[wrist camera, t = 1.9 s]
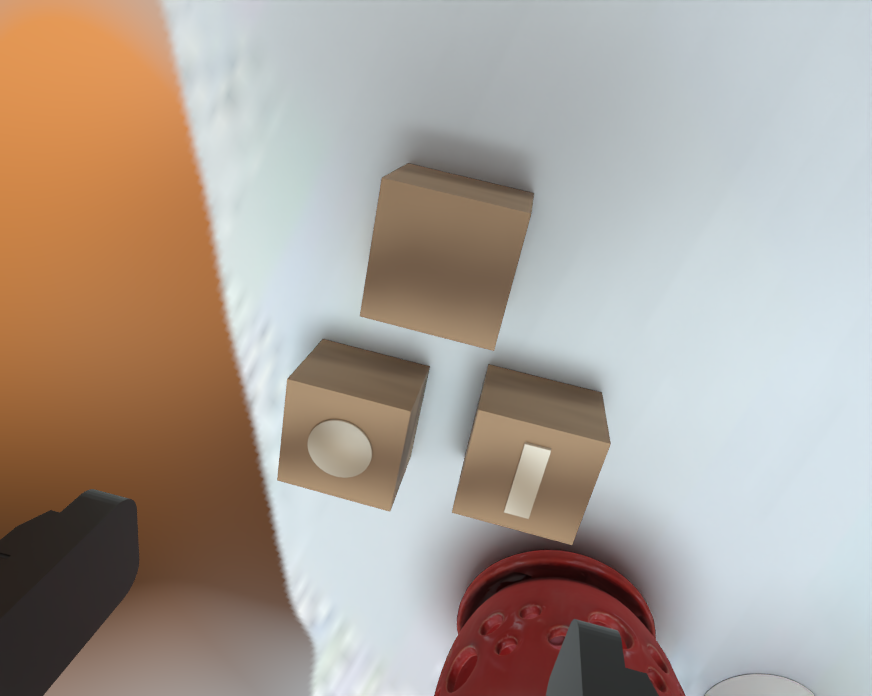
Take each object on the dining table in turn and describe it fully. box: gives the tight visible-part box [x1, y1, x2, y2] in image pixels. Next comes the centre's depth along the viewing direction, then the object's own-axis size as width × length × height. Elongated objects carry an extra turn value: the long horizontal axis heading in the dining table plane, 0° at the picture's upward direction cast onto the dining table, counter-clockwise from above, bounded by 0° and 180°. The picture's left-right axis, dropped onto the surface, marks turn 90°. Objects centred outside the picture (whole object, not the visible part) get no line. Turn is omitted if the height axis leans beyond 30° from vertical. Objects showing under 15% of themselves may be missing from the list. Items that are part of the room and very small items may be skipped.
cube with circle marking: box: [277, 339, 430, 511], centre depth 31 cm, size 6×6×5 cm
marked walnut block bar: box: [452, 364, 611, 545], centre depth 30 cm, size 6×6×5 cm
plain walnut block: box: [360, 163, 534, 351], centre depth 27 cm, size 6×6×5 cm
